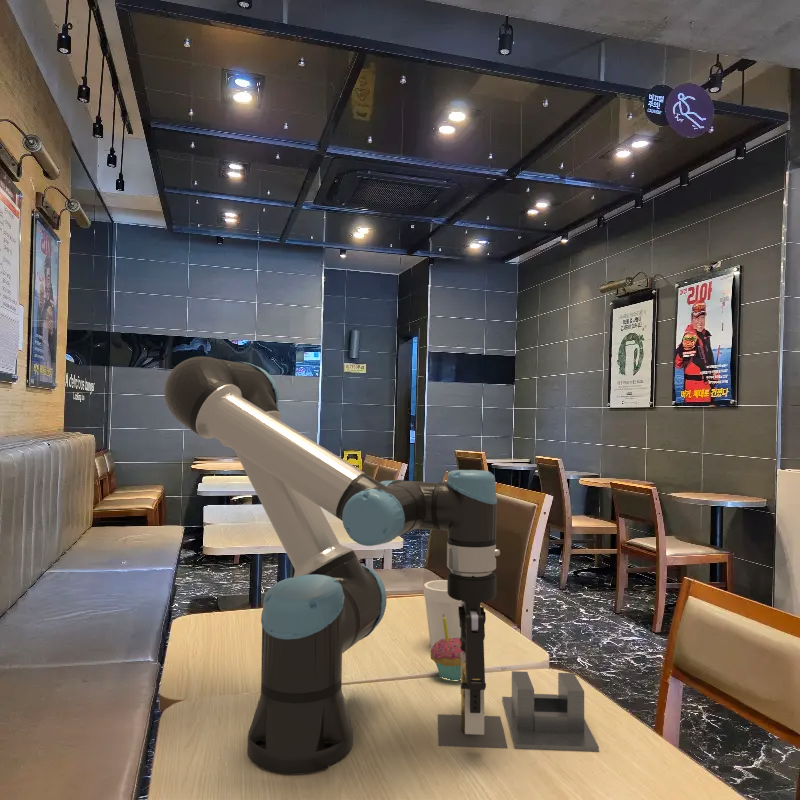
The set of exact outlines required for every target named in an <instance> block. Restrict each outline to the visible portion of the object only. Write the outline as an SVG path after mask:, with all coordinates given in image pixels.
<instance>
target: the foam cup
mask: <svg viewBox="0 0 800 800" xmlns="http://www.w3.org/2000/svg"><path fill="white" fill-rule="evenodd" d="M423 598H424V602H425V610H426V617H427V618H426V619H427V626H428V628H427V629H428V637H429V643H430V648H431V647H433V646H434V645H435V643H436V642H438V641H439V640H441V639H445V632H444V625H443V614H444V617H446V621H447V629H448V636H449V638H450V637H451V638H460V637H461V627H460V622H459V613H458V608H459V606H462V600H460V601H458V600H455V599H453V598H451V597H450V596H449V595H448V593H447V579H437V580H431V581H427V582H425V583H424V584H423Z"/></svg>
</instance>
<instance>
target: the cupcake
mask: <svg viewBox="0 0 800 800" xmlns="http://www.w3.org/2000/svg"><path fill="white" fill-rule="evenodd" d="M443 625H444V632H445V639H441V640H439V641H438V642H436V643H435V645H434V646H433V647H431V646H430V659H431V660H432V661H433V662H434V663H435V664H436V665H435V666H436V668H437V671H438V675H439V678H440V677H443V678H447V679H450V680H460V679H461V652H463V653H464V651H461V649H460V646H461V641H460V638H451V637H450V638H449V636H448V629H447V621H446V617H444V614H443Z"/></svg>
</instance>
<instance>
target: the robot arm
mask: <svg viewBox="0 0 800 800" xmlns="http://www.w3.org/2000/svg"><path fill="white" fill-rule="evenodd" d="M164 385H165V386H164V400H165V402H166V407H167V409H168V410H169V412H170V413H171V414H172V415H173V417H174V418H175V419H176V420H177V421H179V422H180V423H181V424H182V425H184V426H185V427H186V428H188V429H189V431H192V432H193V433H195V434H197V435H198V436H200V437H201V438H203V439H213V438H215V439H216V440H218V441H219V442H220V444H221V445H222V446H223V447H227V448H230V449H232V450H233V451H234V452H235V454H236V456H237V458H238V460H239V461H240V464H241V466H242V468H243V469H244V472H245V473H246V476H247V478H248V479H249V481H250V483H251V486H252V488H253V489H254V491H255V493H256V496H257V497H258V499H259V501H260V503H261V505H262V507H263V509H264V512H265V514H266V515H267V517H268V519H269V521H270V523H271V525H272V528H273V529H274V531H275V533H276V535H277V537H278V539H279V541H280V543H281V545H282V546H283V548H284V551H285V554H286V555H287V557H288V558H289V560H290V562H291V565H292V566H293V569H294V574H293V577H287V578H285V579H283V580H280V581H278V582H276V583H275V584H272V585H271V586H270V587H269V588H268V590H267V591H266V593H265V594H264V597H263V602H262V603H263V605H262V611H261V617H260V623H261V671H260V672H261V673H260V674H261V675H260V676H261V677H260V681H261V683H260V684H261V686H260V696H259V700H258V702H257V705H256V709H255V711H254V714H253V717H252V721H251V723H250V724H251V725H250V727H249V729H248V733H247V747H246V750H247V751H246V752H247V756H248V759H249V761H251V762H252V763H253V764H254V765H256V766H257V767H258V768H260V769H262V770H265V771H267V772H268V771H269V772H272V773H277V774H282V775H284V774H285V775H303V774H311V773H315V772H320V771H325V770H327V769H328V768H329V767H331V766H334V765H335V764H338V763H339V762H340V761H342V760H343V759H345V758H346V757H347V756H348V755H349V754H350V753H351V751H352V749H353V745H354V729H353V724H352V721H351V717H350V715H349V710H348V707H347V704H346V701H345V697H344V694H343V689H342V684H343V681H342V680H343V678H342V677H343V676H342V675H343V674H342V673H343V654H344V653H345V652H346V651H348V650H350V648H352V647H353V646H355V645H356V644H357V643H359V642H360V641H362V640H363V639H365V638H367V637H368V636H369V635H371V633H373V631H374V630H375V629H376V627H377V626H378V625H379V624H380V623H381V621H382V619H383V618H384V615H385V611H386V607H387V591H386V587H385V585H384V583H383V580H382V579H381V577H380V576H379V574H378V573H377V572H376V571H375V570H374V569H373V568H370V567H368V566H366V565H364V564H362V563H361V562H360V560H359V559H358V556H357V554H356V553H355V551H354V549H353V548H351V547H348V546H344V545H342V544H340V541H339V539H338V538H337V537H336V534H335V532H334V531H333V528H332V526H331V525H330V523H329V521H328V519H327V517H326V516H325V513H324V512H323V510H324V511H326V512H327V513H329V514H331V515H333V516H334V517H335V518H336V519H339V520H340V521H341V522H342V525H343V528H344V530H345V532H346V533H347V535H348V537H349V538H350V539H351V540H352V541H353V542H355V543H357V544H358V545H362V546H366V547H373V546H377V545H383V544H387V543H390V542H392V541H394V540H395V539H396V538H397V537H399V536H403V535H405V534H407V533H410V532H411V531H414V530H429V531H430V530H432V531H433V530H436V531H447V532H446V533H447V542H446V567H447V568H448V569H449V571H448V572H447V578H446V580H447V593H448V595H449V596H450V597H451V598H453V599H455V600H458V601H460V600H462V606H459V608H458V613H459V622H460V627H461V637H460V641H461V646H460V649H461V651H464V653H463V652H461V664H462V662H463V661H466V682H465V683H461V682H460V690H461V689H465V734H480V735H484V716H485V691H486V688H487V683H486V673H485V671H486V670H485V637H486V631H485V630H486V629H485V627H486V626H485V624H486V619H487V618H486V617H487V616H486V611H485V606H481V604H482V603H483V602H489V601H492V600H494V599H495V598H496V596H497V574H496V573H495V572H494V571H495V570H496V569H497V558H496V557H499V556H500V555H501V551H500V549H496V548H497V545H496V544H497V509H498V508H497V507H498V505H497V504H498V499H497V490H496V489H497V488H496V478H495V475H494V474H493V473H492V472H491V471H489V470H483V469H482V470H481V469H480V470H478V469H457V470H456V469H454V470H451V471H449V472H448V474H447V479H446V481H443V482H440V481H439V482H436V481H435V482H433V481H432V482H431V481H412V480H411V481H410V480H403V479H395V480H394V479H393V480H392V479H391V480H382V481H378V479H377V480H376V479H375V478H373V477H372V476H370V475H369V474H366V473H365V472H364V471H362V470H361V469H359V468H358V467H356V466H354V465H352V464H351V463H349V462H348V461H346V460H345V459H343V458H342V457H339V456H338V455H336V454H335V453H333V451H330V450H328V449H327V448H326V447H323V446H322V445H320V444H318V443H317V442H315V441H314V440H312V439H311V438H309V437H307V436H306V435H304V434H303V433H301V432H299V431H298V430H296V429H294V428H292V427H291V426H289V425H288V424H287V423H285V422H283V421H281V418H282V413H281V412H280V410H279V408H278V407H279V403H278V401H279V399H280V394H279V388H278V386H277V383H276V381H275V380H274V378H273V377H272V376H271V374H269V372H268V371H266V370H265V369H263V368H262V367H260V366H257V365H255V364H252V363H251V362H250V363H249V362H245V361H230V360H225V359H220V358H215V357H211V356H210V357H209V356H202V355H201V356H193V357H190V358H188V359H185V360H183V361H181V362H180V363H179V364H177V365H176V366H175V367H173V369H172V370H171V371H170V373H169V374H168V376H167V379H166V381H165V383H164ZM322 509H323V510H322ZM471 679H480V680H471Z"/></svg>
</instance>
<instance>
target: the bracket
mask: <svg viewBox="0 0 800 800" xmlns="http://www.w3.org/2000/svg"><path fill="white" fill-rule="evenodd" d="M557 676H558V677H557V680H558V681H557V683H558V684H557V686H558V687H557V689H558V690H557V693H558V694H553V693H552V694H550V693H549V694H547V693H535V688H534V686H533V682H532V681H531V679H530V675H529V673H528V671H516V670H515V671H511V696H502V697H501V698H502V699H501V700H502V705H503V709H504V712H505V717H506V721H507V725H508V727H509V733H510V735H511V740H512V742H513V743H512V744H513V748H514V749H515V750H538V751H539V750H540V751H563V752H564V751H566V752H567V751H569V752H591V753H593V752H595V753H599V752H600V747H599V745H598V743H597V740H596V738H595V737H594V735H593V733H592V730H590V727H589V726H588V724H587V722H586V720H585V690H584V688H583V687H582V685H581V683H580V682H579V679H578V678H577V676H576V674H575V673H574V672H558V675H557Z"/></svg>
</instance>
